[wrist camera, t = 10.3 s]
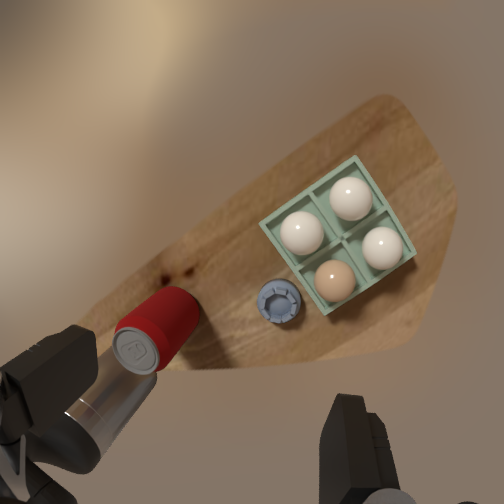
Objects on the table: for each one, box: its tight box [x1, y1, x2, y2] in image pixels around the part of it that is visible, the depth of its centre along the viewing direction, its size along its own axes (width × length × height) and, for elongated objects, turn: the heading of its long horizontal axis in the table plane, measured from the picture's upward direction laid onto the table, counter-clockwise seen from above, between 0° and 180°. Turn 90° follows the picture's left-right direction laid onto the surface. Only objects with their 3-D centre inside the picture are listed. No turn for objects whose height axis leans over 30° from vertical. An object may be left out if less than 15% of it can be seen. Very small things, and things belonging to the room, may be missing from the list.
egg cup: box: [257, 279, 301, 323], centre depth 36 cm, size 5×5×3 cm
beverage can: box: [112, 286, 200, 375], centre depth 34 cm, size 7×7×12 cm
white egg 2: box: [329, 177, 373, 221], centre depth 29 cm, size 4×4×4 cm
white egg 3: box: [362, 227, 403, 270], centre depth 30 cm, size 4×4×4 cm
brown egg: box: [314, 259, 356, 302], centre depth 31 cm, size 4×4×4 cm
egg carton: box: [259, 155, 417, 316], centre depth 33 cm, size 12×12×3 cm
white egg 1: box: [280, 211, 324, 255], centre depth 31 cm, size 4×4×4 cm
